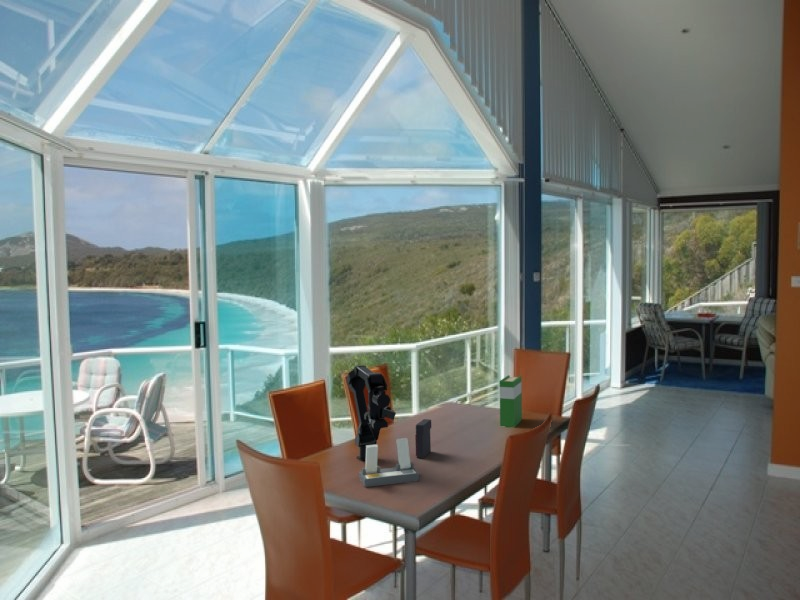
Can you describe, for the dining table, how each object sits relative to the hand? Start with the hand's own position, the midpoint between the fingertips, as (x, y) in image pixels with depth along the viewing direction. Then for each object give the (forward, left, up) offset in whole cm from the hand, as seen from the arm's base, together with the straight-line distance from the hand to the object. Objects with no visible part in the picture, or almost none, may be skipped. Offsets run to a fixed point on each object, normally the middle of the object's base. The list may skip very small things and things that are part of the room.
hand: (376, 439), depth 267 cm
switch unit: (+15, -3, -12) cm, 19 cm away
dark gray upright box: (-4, +26, -12) cm, 29 cm away
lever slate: (+17, +4, -8) cm, 19 cm away
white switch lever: (+13, -10, -9) cm, 18 cm away
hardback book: (-24, +95, -12) cm, 98 cm away
